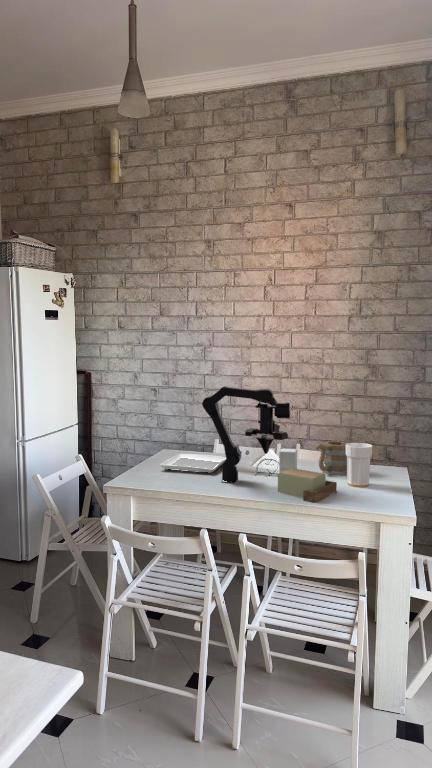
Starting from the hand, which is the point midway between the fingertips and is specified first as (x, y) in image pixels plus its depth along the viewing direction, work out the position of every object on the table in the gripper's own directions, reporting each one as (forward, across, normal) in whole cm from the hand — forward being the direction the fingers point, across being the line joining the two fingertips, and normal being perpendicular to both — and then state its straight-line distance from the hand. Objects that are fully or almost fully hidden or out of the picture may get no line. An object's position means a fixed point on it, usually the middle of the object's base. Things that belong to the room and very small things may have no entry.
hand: (265, 453), depth 245 cm
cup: (+13, -34, -22) cm, 42 cm away
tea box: (+13, -20, +5) cm, 24 cm away
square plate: (+14, +43, -5) cm, 46 cm away
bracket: (+13, -28, +4) cm, 31 cm away
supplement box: (+13, -3, -14) cm, 20 cm away
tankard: (+13, -15, -33) cm, 39 cm away
